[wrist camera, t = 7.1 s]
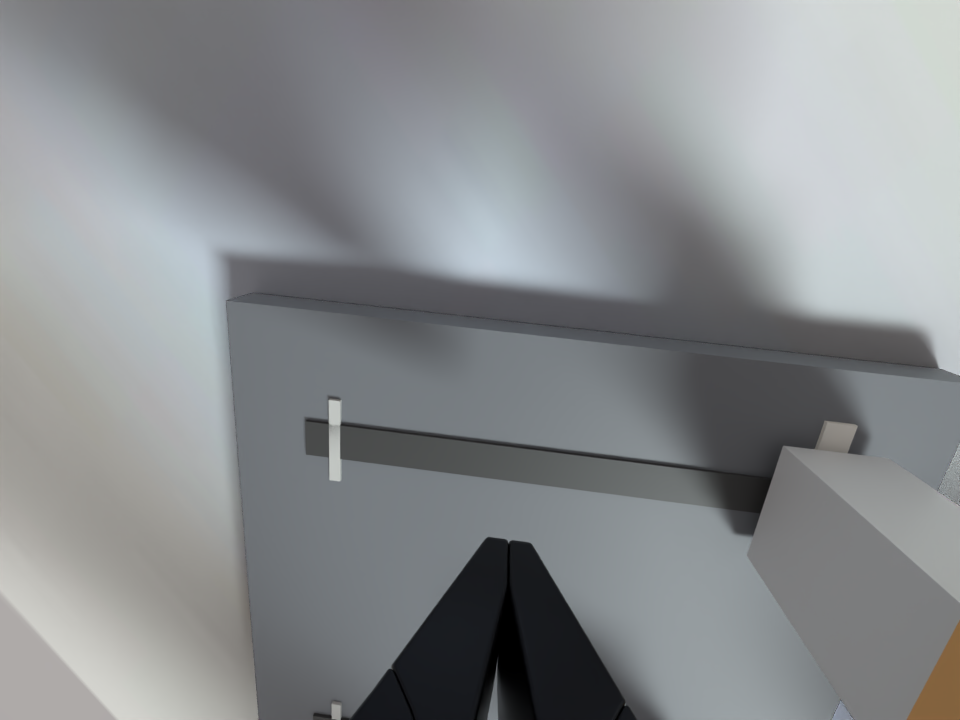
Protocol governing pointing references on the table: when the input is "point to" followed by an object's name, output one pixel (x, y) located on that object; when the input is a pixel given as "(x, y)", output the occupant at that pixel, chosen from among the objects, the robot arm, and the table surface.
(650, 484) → the console
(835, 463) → the fader
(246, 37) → the table surface
